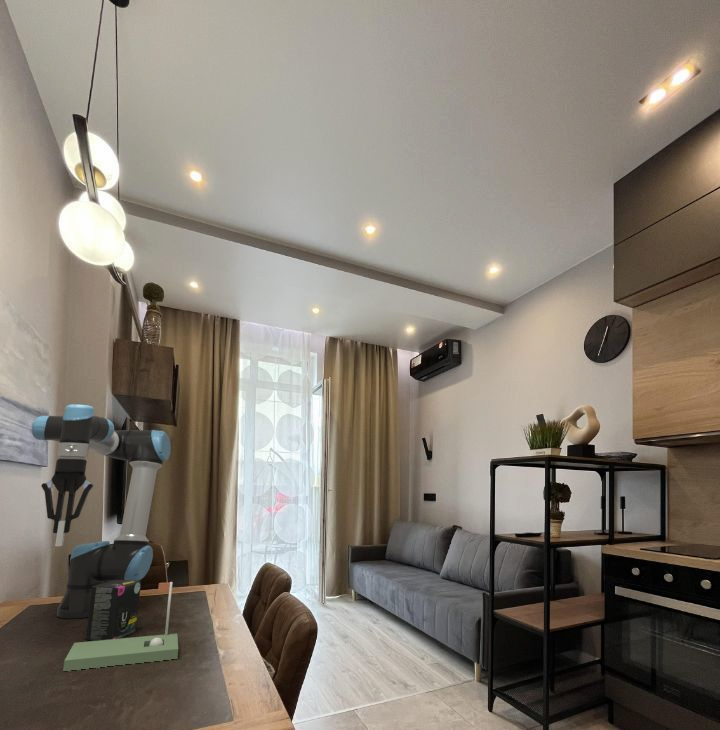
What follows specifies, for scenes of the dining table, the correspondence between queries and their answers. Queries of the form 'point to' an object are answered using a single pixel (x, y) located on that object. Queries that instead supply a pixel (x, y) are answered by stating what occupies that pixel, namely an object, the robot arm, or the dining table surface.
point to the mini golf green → (124, 648)
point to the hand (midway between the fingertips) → (59, 545)
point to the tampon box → (113, 610)
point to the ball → (156, 642)
